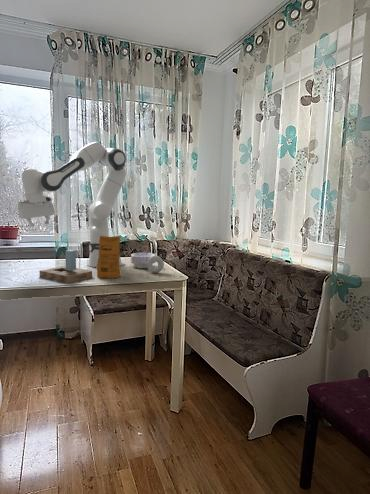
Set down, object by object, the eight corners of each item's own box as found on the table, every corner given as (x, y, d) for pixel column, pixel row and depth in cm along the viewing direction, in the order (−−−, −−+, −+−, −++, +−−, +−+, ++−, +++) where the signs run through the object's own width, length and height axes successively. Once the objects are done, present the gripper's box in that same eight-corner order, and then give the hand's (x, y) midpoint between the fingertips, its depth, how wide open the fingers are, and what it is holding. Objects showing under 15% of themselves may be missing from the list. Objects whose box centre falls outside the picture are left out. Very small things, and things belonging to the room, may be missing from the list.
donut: (163, 272, 195) (164, 255, 194) (163, 273, 192) (164, 256, 191) (146, 272, 194) (146, 255, 193) (146, 273, 191) (146, 256, 190)
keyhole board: (39, 277, 173) (39, 270, 173) (64, 272, 187) (64, 265, 186) (68, 283, 163) (68, 276, 162) (92, 277, 177) (92, 270, 176)
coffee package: (98, 274, 184) (98, 234, 181) (121, 274, 185) (121, 235, 182) (95, 278, 175) (95, 236, 172) (119, 278, 176) (119, 237, 173)
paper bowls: (133, 270, 199) (134, 256, 198) (128, 265, 213) (128, 252, 212) (158, 268, 205) (158, 256, 204) (151, 264, 219) (151, 252, 218)
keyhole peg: (64, 278, 172) (63, 250, 170) (71, 276, 176) (71, 249, 174) (70, 279, 170) (70, 251, 168) (77, 278, 174) (77, 250, 172)
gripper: (21, 200, 169) (26, 227, 171) (54, 198, 186) (58, 222, 188) (13, 201, 172) (18, 228, 174) (46, 199, 189) (51, 223, 191)
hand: (39, 225), depth 181 cm, fingers open, 8 cm apart
